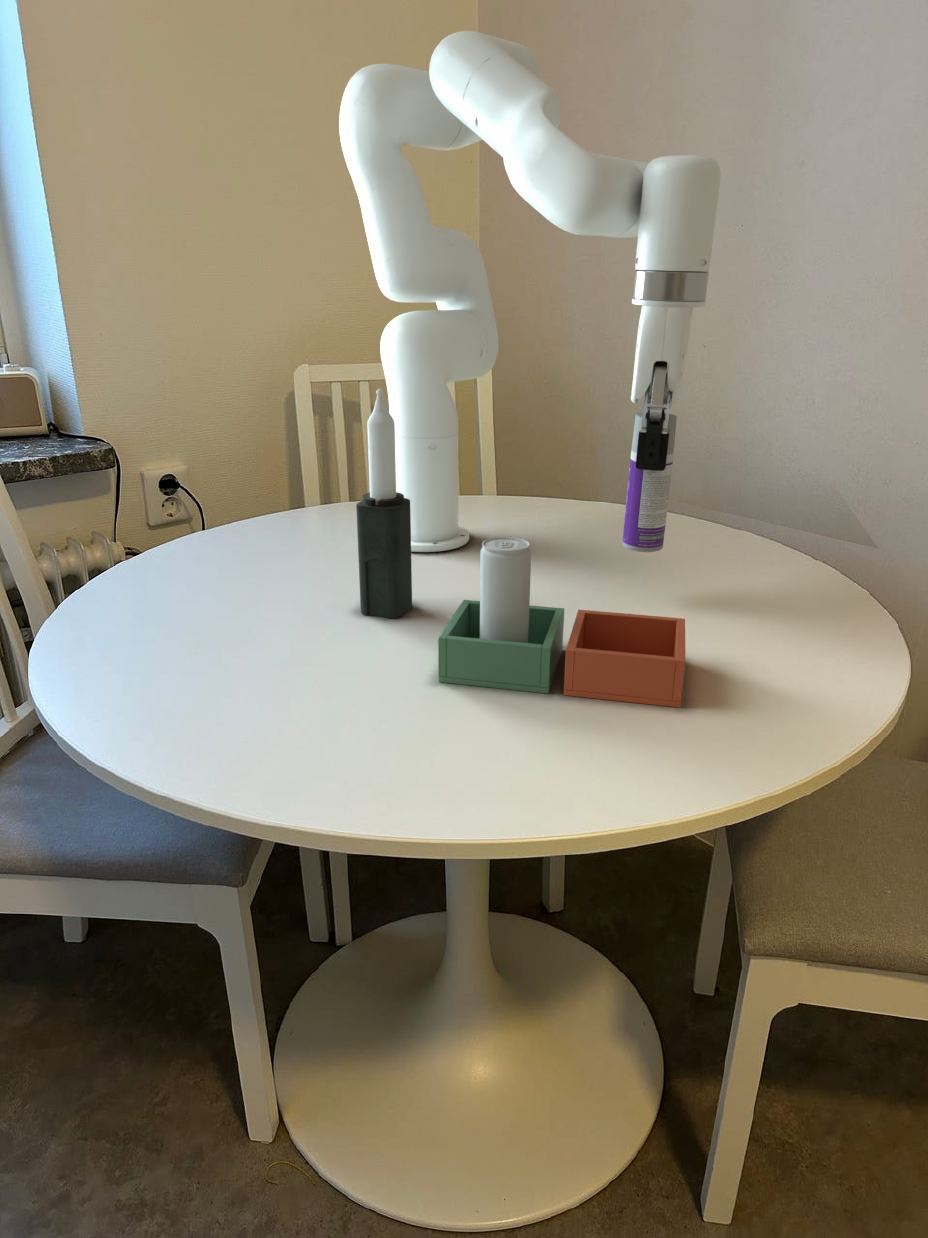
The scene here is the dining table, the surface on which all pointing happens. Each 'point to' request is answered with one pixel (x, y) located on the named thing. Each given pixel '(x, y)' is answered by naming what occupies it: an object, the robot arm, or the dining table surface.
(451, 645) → the sage bin
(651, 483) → the container
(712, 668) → the dining table surface
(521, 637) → the beverage can
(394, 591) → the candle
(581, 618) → the terracotta bin
